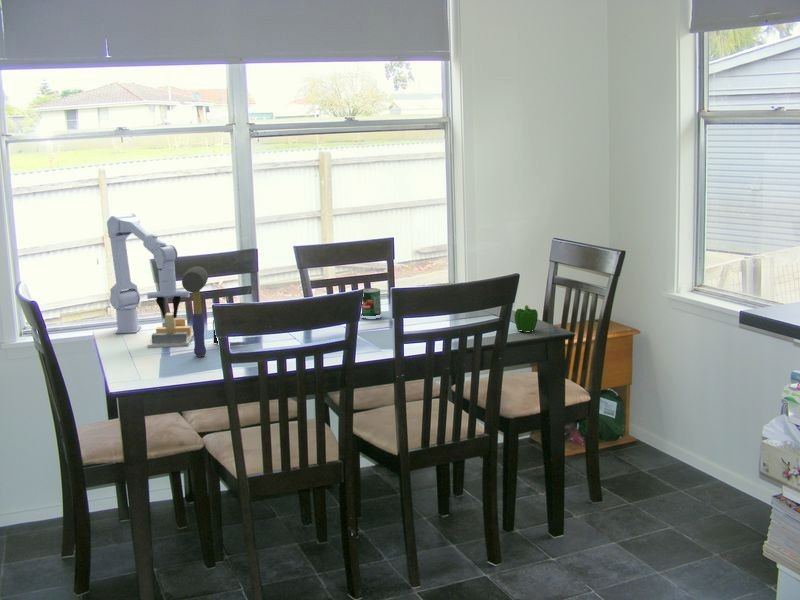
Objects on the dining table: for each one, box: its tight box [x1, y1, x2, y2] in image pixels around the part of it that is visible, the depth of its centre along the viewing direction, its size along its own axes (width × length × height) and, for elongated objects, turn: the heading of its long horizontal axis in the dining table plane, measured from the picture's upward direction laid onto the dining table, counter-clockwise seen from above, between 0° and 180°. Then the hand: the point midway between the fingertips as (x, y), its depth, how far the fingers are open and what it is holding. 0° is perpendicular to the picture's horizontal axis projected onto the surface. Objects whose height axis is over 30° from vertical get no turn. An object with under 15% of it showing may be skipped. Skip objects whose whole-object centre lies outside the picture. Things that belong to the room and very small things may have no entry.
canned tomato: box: [360, 287, 382, 317], centre depth 361 cm, size 8×8×11 cm
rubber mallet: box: [181, 265, 209, 358], centre depth 307 cm, size 12×8×30 cm, turn 3°
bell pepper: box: [514, 304, 539, 332], centre depth 333 cm, size 8×8×10 cm
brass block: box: [164, 312, 176, 332], centre depth 331 cm, size 4×3×6 cm
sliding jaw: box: [155, 317, 192, 334], centre depth 341 cm, size 10×12×4 cm
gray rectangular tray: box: [147, 327, 194, 349], centre depth 335 cm, size 24×14×4 cm, turn 5°
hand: (170, 317), depth 331 cm, fingers closed on brass block, 3 cm apart
